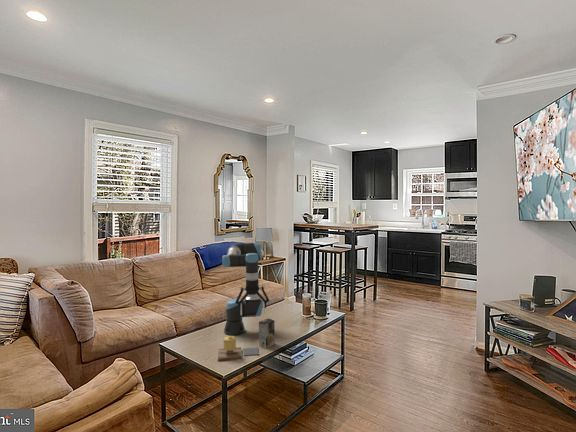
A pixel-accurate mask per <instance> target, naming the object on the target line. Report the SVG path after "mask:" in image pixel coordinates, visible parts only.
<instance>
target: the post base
mask: <svg viewBox="0 0 576 432" xmlns="http://www.w3.org/2000/svg"><path fill="white" fill-rule="evenodd" d="M242 359H243V355H242V347H241V346H238V347H236V349H234V350H228V351H227V350H224V348H219V349H218V355H217V362H222V361H236V360H242Z"/></svg>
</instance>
